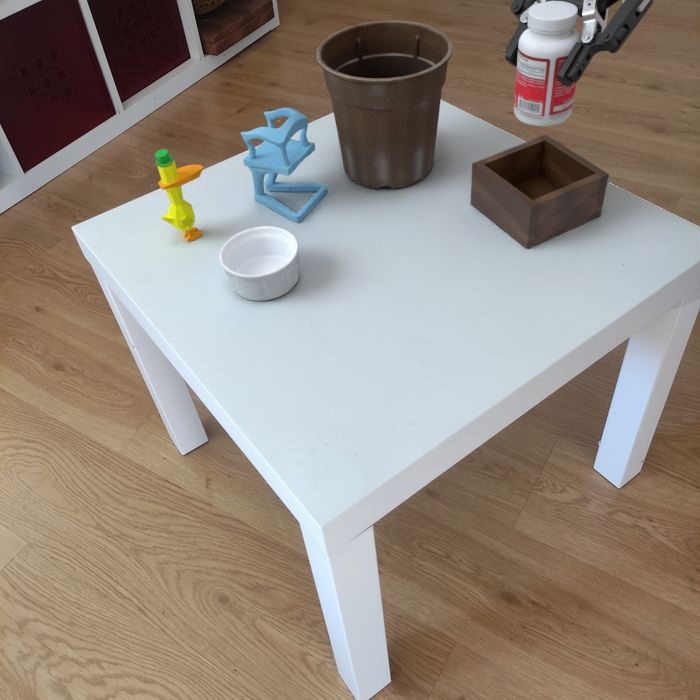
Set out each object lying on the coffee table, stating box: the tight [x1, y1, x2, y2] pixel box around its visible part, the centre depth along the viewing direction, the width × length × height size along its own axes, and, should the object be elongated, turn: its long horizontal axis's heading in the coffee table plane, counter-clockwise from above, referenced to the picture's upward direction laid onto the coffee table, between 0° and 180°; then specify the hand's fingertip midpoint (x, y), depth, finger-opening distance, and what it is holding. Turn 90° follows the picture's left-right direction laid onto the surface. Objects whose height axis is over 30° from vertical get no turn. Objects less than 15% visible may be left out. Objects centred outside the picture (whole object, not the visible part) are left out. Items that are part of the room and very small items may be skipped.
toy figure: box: [154, 148, 204, 243], centre depth 86 cm, size 7×4×12 cm, turn 125°
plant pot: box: [316, 20, 454, 190], centre depth 91 cm, size 16×16×16 cm
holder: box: [470, 134, 610, 250], centre depth 86 cm, size 11×11×6 cm
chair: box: [240, 107, 329, 223], centre depth 89 cm, size 8×8×12 cm
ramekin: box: [218, 225, 300, 302], centre depth 81 cm, size 9×9×4 cm
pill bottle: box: [513, 0, 581, 127], centre depth 74 cm, size 6×6×11 cm
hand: (536, 72), depth 74 cm, fingers closed on pill bottle, 6 cm apart
